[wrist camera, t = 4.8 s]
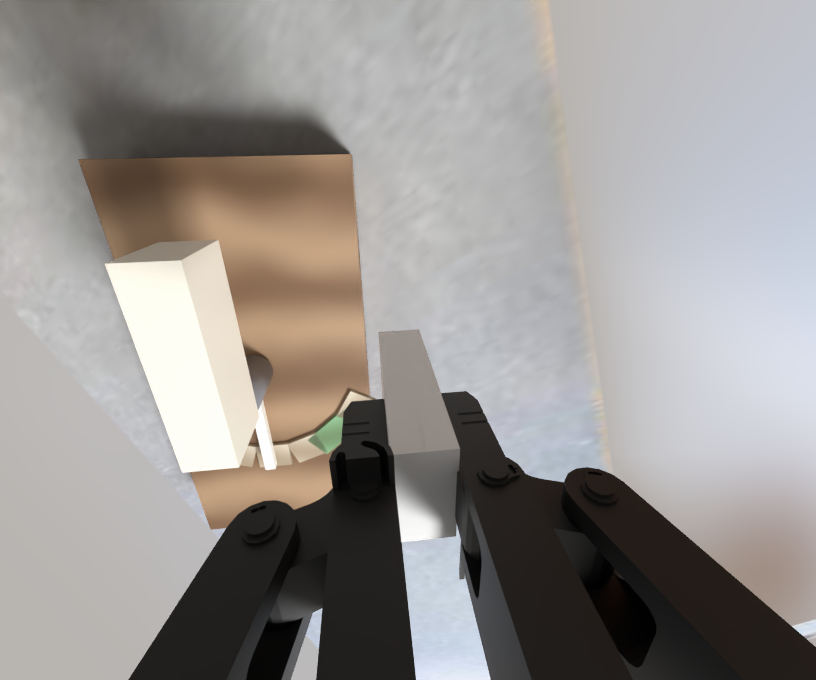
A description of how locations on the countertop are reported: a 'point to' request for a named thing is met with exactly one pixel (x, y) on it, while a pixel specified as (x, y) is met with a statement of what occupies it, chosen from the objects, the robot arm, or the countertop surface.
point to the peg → (194, 352)
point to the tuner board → (263, 295)
